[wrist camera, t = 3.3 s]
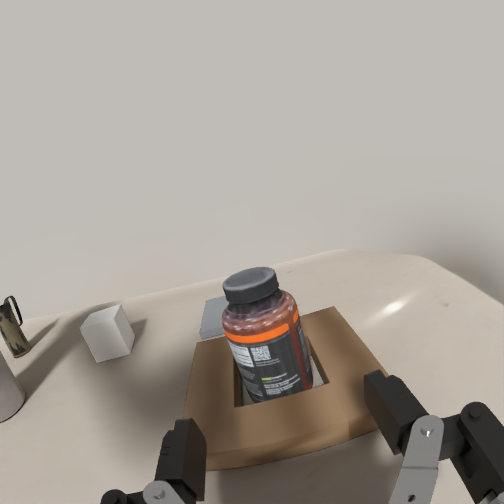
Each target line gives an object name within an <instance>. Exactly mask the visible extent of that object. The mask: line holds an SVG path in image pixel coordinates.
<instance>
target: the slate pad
mask: <svg viewBox="0 0 504 504" xmlns="http://www.w3.org/2000/svg"><path fill="white" fill-rule="evenodd" d="M228 304H229V302H228V301H227V300H226V296H223V297H219V298H215V299H211V300H207V301H206V304H205V309H204V313H203V318H202V323H201V328H200V332H199V333H200V335H201V338H207V337H211V336H216V335H220V334H224V333H225V331H224V329H223V325H222V314H223V311H224V309H225V308H226V307H227V306H228Z"/></svg>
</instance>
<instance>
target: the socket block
mask: <svg viewBox="0 0 504 504" xmlns="http://www.w3.org/2000/svg"><path fill="white" fill-rule="evenodd" d="M300 321H301V325H302V330H303V334H304V338H305V343H306V347H307V352H308V356H310V355H311V356H312V358H313V360H314V363H315V365H316V367H317V369H318V371H319V374H320V376H321V378H322V380H323V382H324V385H322V386H319V387H315V388H312V389H309V390H306V391H302V392H299V393H295V394H292V395H288V396H284V397H280V398H276V399H272V400H268V401H264V402H260V403H255V404H251V405H246V406H242V401H241V383H240V371H239V368H238V366H237V363H236V361H235V358H234V355H233V353H232V350H231V348H230V345H229V342H228V340H227V337H226V336H224V337H220V338H215V339H211V340H207V341H202V342H197V345H196V349H195V354H194V359H193V364H192V369H191V374H190V380H189V385H188V390H187V395H186V401H185V406H184V412H183V417H182V419H187V418H193V419H194V421H195V422H196V424H197V425H198V427H199V429H200V430H201V432H202V433H203V435H204V437H205V439H206V443H207V456H206V471H215V470H224V469H232V468H240V467H246V466H252V465H258V464H264V463H269V462H274V461H278V460H283V459H287V458H291V457H295V456H299V455H303V454H307V453H310V452H314V451H317V450H321V449H324V448H327V447H330V446H333V445H336V444H339V443H342V442H345V441H348V440H351V439H353V438H356V437H359V436H361V435H364V434H366V433H369V432H371V431H374V430H376V429H378V428H379V427H378V425H377V424H376V422H375V420H374V418H373V417H372V415H371V413H370V411H369V410H368V408H367V406H366V403H365V399H364V375H365V374H368V373H370V372H373V371H375V370H378V369H380V370H381V371H382V372H383V374H384V375H385V376H386V377H388V376H389V375H388V373H387V372H386V371H385V370H384V368H383V367H382V366H381V364H380V363H379V362H378V361H377V359H376V358H375V357H374V356H373V354H372V353H371V352H370V350H369V349H368V348H367V347H366V345H365V344H364V343H363V342H362V340H361V339H360V338H359V337H358V335H357V334H356V333H355V332H354V330H353V329H352V328H351V327H350V325H349V324H348V323H347V322H346V320H345V319H344V318H343V317H342V315H341V314H340V313H339V312H338V311H337V309H336V308H335V307H334V306H332V307H329V308H326V309H323V310H320V311H316V312H313V313H310V314H306V315H303V316H300Z"/></svg>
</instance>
